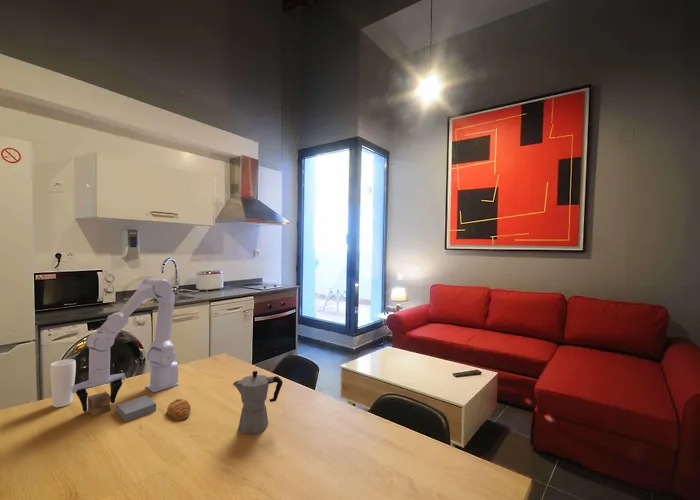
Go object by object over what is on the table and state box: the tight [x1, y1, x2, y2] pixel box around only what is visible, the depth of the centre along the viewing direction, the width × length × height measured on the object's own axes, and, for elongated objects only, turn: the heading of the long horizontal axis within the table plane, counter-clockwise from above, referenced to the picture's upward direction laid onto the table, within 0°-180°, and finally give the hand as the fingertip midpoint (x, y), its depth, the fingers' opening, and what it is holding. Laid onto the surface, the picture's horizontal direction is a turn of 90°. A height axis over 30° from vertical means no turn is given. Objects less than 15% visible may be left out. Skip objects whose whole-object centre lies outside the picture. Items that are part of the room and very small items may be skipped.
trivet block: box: [115, 395, 157, 423], centre depth 109 cm, size 9×9×3 cm
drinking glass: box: [49, 358, 77, 408], centre depth 112 cm, size 7×7×15 cm
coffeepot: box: [232, 370, 283, 435], centre depth 103 cm, size 15×9×18 cm, turn 107°
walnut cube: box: [87, 391, 111, 417], centre depth 109 cm, size 5×5×5 cm
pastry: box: [166, 398, 191, 421], centre depth 108 cm, size 9×7×4 cm
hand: (99, 406), depth 109 cm, fingers open, 7 cm apart
